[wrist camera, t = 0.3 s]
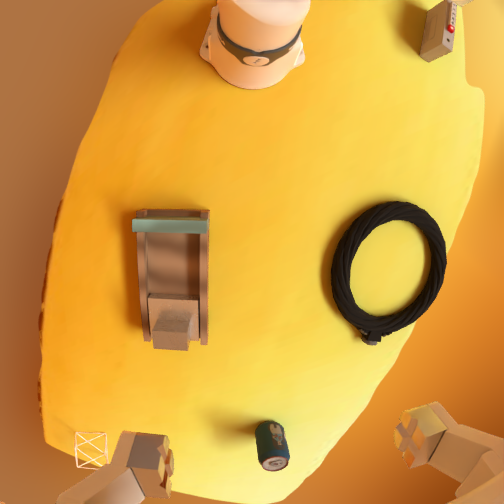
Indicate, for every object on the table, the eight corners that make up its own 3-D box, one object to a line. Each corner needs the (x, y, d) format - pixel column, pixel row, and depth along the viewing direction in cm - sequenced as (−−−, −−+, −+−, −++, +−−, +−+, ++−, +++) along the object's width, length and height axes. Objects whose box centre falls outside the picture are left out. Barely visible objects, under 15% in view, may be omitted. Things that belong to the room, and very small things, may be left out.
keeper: (150, 293, 54) (141, 308, 47) (199, 295, 55) (195, 311, 48) (153, 331, 56) (145, 350, 49) (199, 334, 57) (196, 353, 50)
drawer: (142, 209, 52) (132, 213, 46) (209, 210, 53) (206, 214, 47) (148, 331, 58) (140, 347, 51) (208, 334, 58) (206, 351, 52)
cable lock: (463, 223, 54) (419, 350, 60) (453, 220, 58) (412, 342, 64) (357, 184, 50) (312, 340, 57) (349, 183, 54) (307, 331, 60)
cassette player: (428, 62, 48) (455, 50, 39) (418, 56, 48) (444, 42, 38) (436, 17, 45) (459, 3, 36) (427, 11, 45) (449, -4, 35)
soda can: (257, 439, 67) (262, 475, 55) (252, 422, 65) (256, 459, 53) (285, 433, 67) (293, 469, 55) (280, 416, 65) (288, 452, 53)
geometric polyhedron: (90, 420, 63) (79, 443, 54) (122, 444, 65) (114, 468, 56) (71, 434, 64) (60, 455, 55) (100, 456, 66) (92, 478, 58)
